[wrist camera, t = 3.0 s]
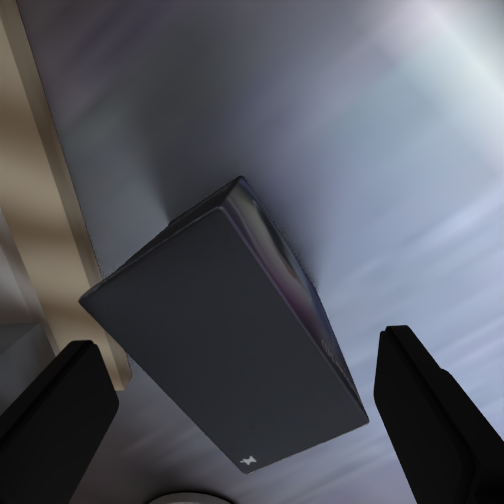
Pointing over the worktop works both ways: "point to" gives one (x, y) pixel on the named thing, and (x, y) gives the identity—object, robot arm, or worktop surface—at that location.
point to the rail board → (39, 231)
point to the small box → (232, 331)
